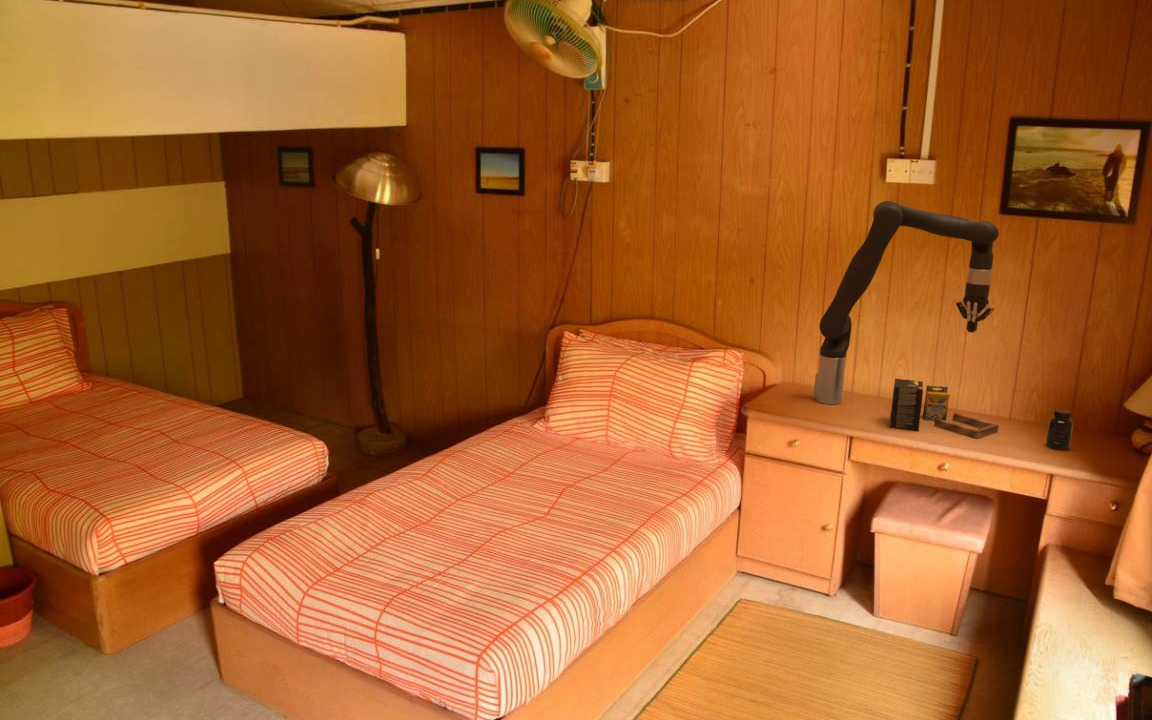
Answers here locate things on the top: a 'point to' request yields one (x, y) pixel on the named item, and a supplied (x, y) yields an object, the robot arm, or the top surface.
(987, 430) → the bay
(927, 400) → the crayon box
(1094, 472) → the top surface
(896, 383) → the tampon box
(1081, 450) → the top surface
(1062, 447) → the supplement bottle
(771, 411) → the top surface
